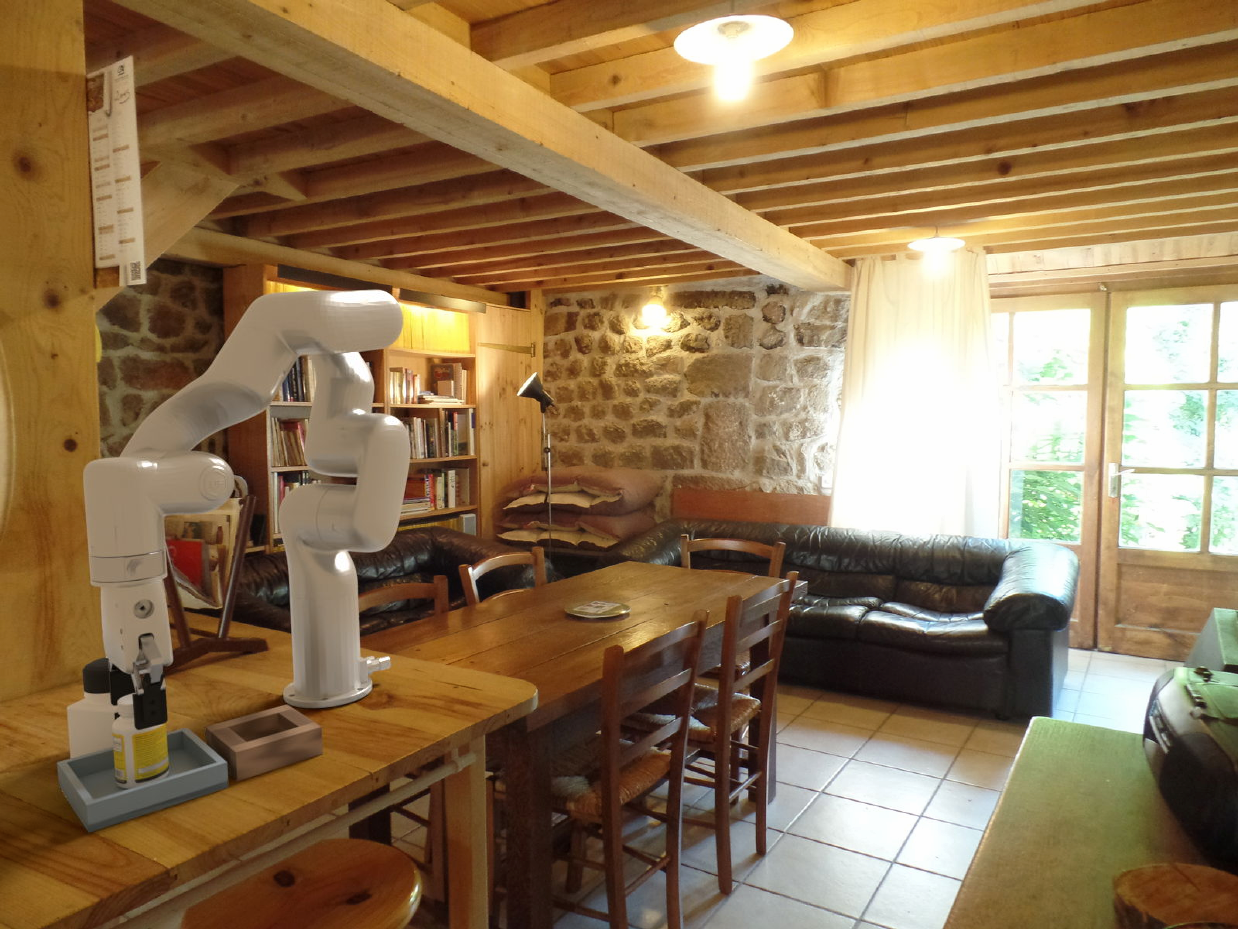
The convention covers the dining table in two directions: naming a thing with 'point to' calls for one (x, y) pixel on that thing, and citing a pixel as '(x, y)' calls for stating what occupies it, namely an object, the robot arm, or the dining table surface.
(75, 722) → the medicine bottle
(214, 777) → the pin tray
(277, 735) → the small brown open box
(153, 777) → the supplement bottle
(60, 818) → the dining table surface
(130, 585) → the robot arm
